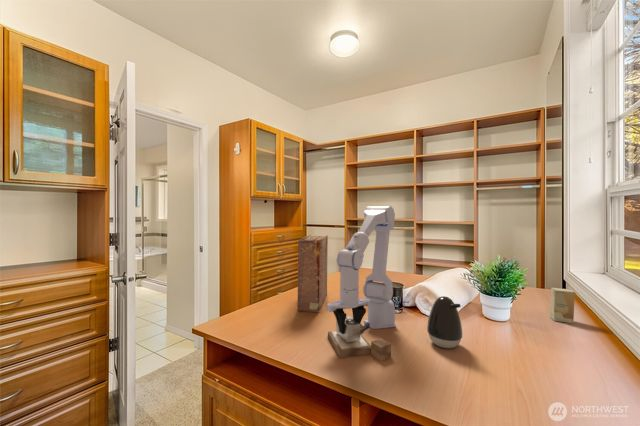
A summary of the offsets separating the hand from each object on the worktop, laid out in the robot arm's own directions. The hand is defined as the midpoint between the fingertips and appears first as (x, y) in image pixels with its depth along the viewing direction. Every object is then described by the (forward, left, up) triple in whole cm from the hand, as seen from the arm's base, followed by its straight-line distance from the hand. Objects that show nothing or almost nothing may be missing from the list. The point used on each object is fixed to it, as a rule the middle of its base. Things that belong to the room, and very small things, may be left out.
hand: (348, 331), depth 85 cm
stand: (0, 0, -4) cm, 4 cm away
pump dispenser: (-30, +6, -5) cm, 31 cm away
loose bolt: (-10, -10, -4) cm, 15 cm away
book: (+2, -42, -5) cm, 42 cm away
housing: (0, -1, -2) cm, 2 cm away
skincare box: (-89, -1, -5) cm, 89 cm away
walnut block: (-7, +8, -4) cm, 12 cm away
